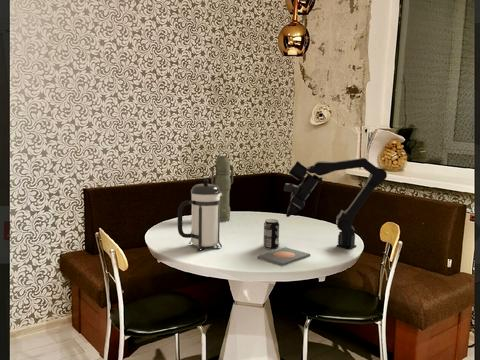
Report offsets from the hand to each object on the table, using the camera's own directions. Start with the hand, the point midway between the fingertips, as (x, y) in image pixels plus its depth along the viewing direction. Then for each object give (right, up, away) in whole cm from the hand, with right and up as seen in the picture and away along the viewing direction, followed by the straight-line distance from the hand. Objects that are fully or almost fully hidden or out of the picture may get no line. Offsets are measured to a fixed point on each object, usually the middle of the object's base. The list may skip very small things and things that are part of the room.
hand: (287, 214), depth 206 cm
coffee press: (-37, -14, -7) cm, 40 cm away
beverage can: (-8, -14, -5) cm, 17 cm away
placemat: (-3, -16, -19) cm, 25 cm away
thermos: (-31, -7, +45) cm, 55 cm away
